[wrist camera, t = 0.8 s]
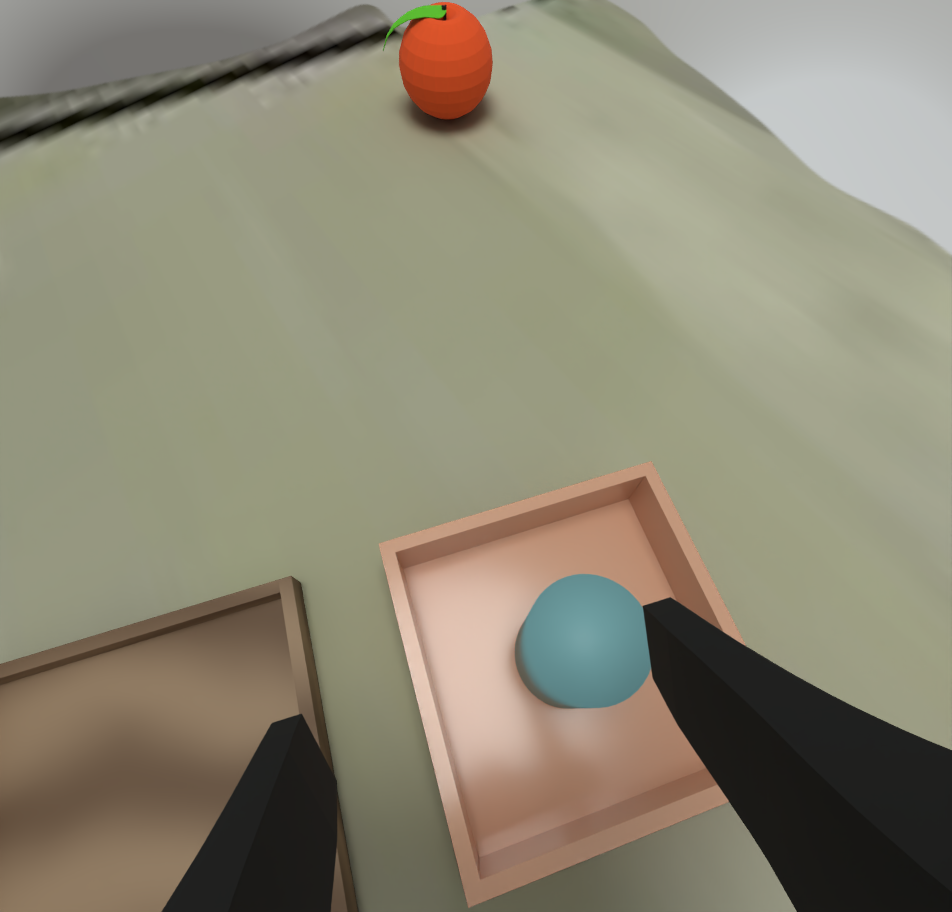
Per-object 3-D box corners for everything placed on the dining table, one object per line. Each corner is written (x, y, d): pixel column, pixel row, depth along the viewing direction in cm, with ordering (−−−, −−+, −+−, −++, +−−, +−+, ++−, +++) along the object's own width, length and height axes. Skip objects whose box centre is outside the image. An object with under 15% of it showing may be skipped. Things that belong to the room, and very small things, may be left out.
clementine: (391, 141, 41) (375, 35, 34) (391, 87, 44) (377, -20, 37) (494, 137, 41) (498, 31, 34) (488, 84, 44) (490, -23, 37)
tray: (362, 934, 20) (354, 950, 19) (-37, 1095, 18) (-78, 1126, 17) (300, 582, 26) (291, 575, 25) (-7, 676, 24) (-36, 674, 23)
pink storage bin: (762, 760, 23) (809, 769, 19) (469, 878, 21) (468, 908, 18) (631, 489, 28) (651, 461, 25) (389, 563, 26) (378, 543, 23)
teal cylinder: (630, 688, 23) (677, 682, 18) (535, 723, 23) (553, 727, 17) (590, 591, 25) (621, 558, 20) (501, 620, 25) (509, 595, 19)
